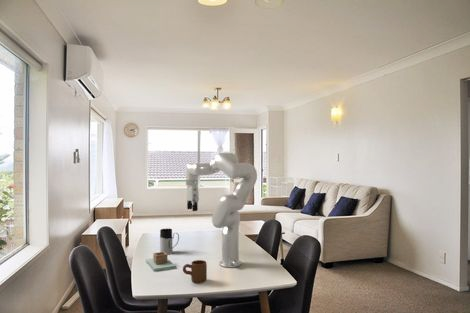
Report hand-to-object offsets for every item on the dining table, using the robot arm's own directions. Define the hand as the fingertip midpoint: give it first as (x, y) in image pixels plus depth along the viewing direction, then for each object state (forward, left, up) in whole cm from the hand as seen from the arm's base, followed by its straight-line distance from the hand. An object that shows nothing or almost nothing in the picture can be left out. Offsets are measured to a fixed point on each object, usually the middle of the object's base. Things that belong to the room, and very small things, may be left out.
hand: (192, 209), depth 223 cm
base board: (-12, +24, -28) cm, 39 cm away
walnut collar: (-12, +24, -27) cm, 38 cm away
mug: (-47, +16, -28) cm, 57 cm away
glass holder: (+10, +12, -28) cm, 32 cm away
